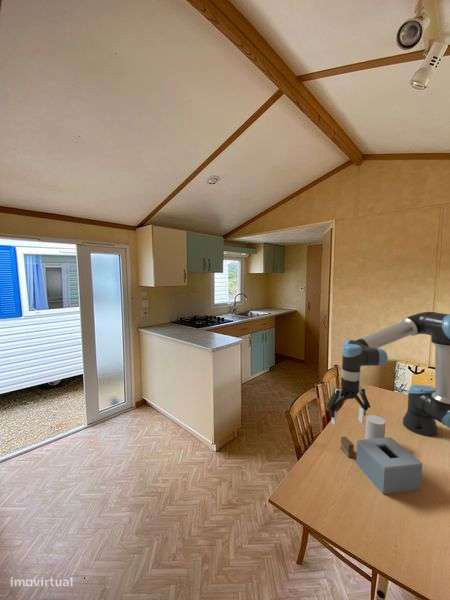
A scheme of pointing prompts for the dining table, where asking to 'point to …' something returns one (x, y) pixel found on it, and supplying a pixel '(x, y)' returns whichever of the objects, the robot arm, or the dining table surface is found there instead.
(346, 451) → the brown square block
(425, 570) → the dining table surface
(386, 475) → the coin box
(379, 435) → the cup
